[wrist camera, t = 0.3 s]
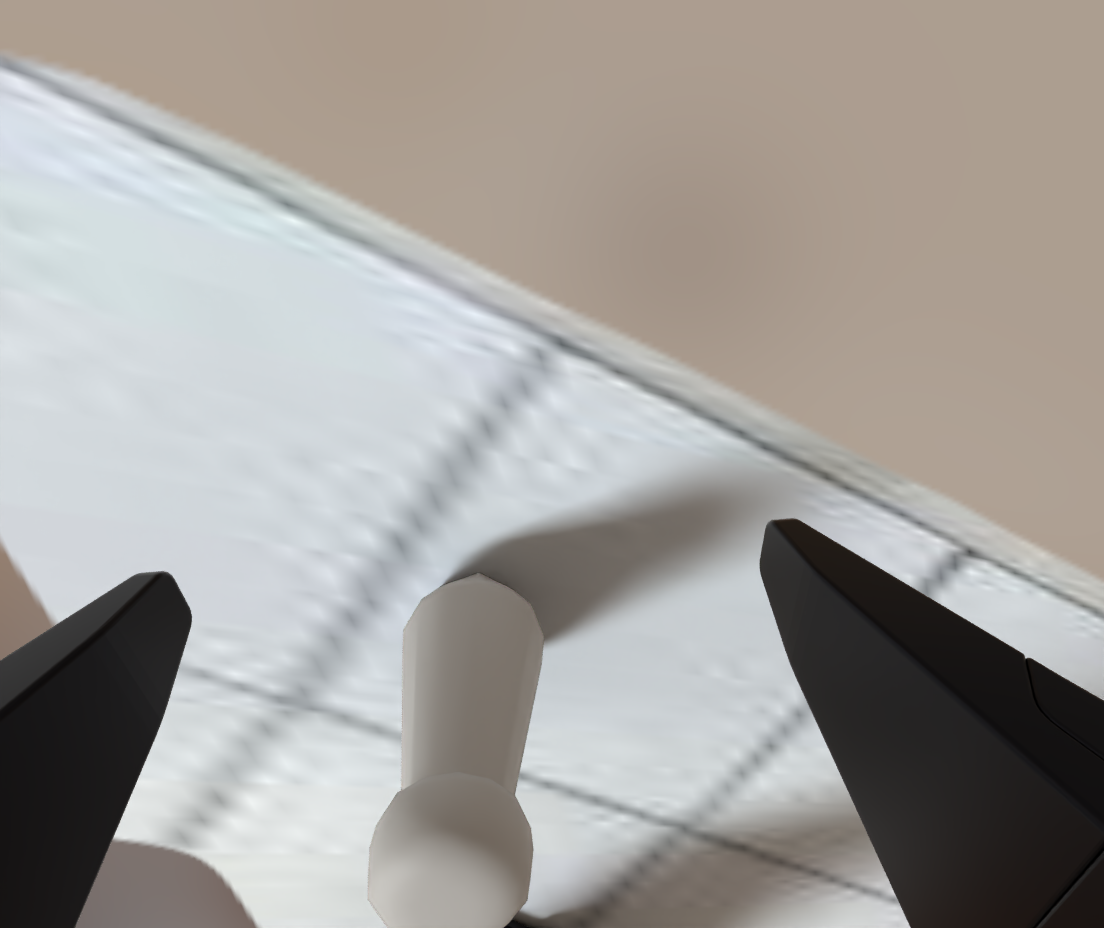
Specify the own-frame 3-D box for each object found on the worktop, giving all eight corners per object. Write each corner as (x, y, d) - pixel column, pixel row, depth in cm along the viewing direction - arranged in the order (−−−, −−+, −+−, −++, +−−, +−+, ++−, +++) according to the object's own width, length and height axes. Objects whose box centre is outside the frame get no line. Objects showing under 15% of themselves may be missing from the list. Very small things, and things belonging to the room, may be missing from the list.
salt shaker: (532, 547, 26) (552, 802, 14) (549, 657, 28) (580, 968, 16) (398, 566, 26) (298, 841, 14) (424, 675, 28) (355, 1004, 15)
